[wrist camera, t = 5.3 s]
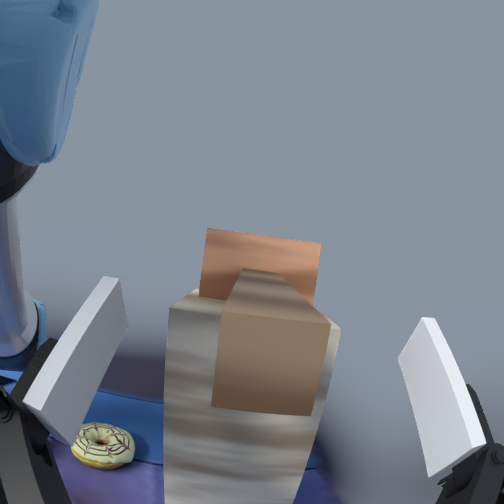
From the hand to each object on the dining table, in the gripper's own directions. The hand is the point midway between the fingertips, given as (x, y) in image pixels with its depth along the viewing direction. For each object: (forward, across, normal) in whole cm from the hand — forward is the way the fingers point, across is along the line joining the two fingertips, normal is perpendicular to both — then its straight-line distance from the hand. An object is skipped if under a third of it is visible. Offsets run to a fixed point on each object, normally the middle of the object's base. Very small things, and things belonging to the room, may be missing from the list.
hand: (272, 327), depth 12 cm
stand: (-5, 0, -34) cm, 34 cm away
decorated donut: (+3, -20, -39) cm, 44 cm away
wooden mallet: (+5, 0, -5) cm, 7 cm away
